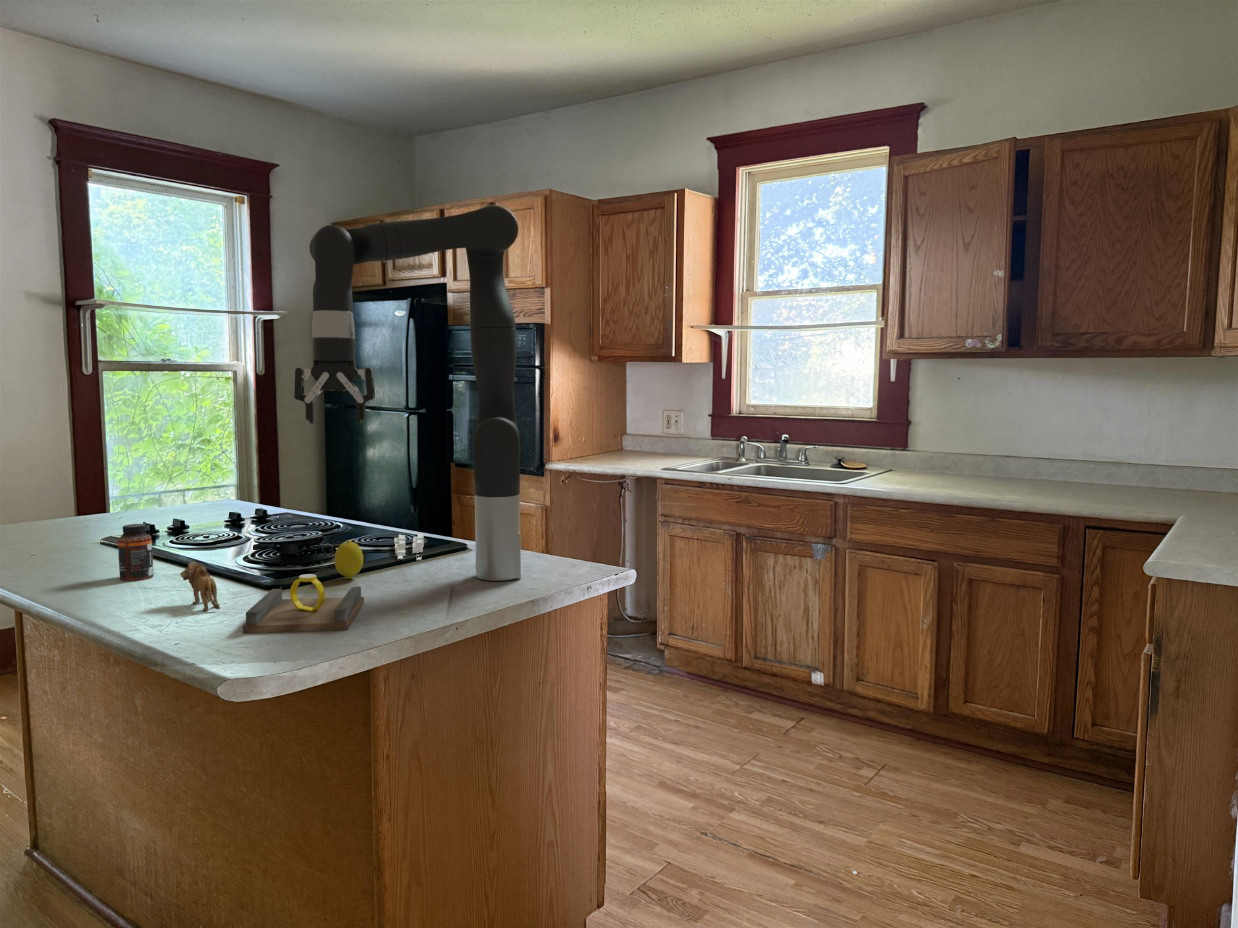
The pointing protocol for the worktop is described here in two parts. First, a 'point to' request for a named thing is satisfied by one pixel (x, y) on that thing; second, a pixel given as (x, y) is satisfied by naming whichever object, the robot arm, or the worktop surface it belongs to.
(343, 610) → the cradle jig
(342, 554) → the lemon
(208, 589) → the lion figurine
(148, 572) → the supplement bottle
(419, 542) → the modular blocks
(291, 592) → the watch
